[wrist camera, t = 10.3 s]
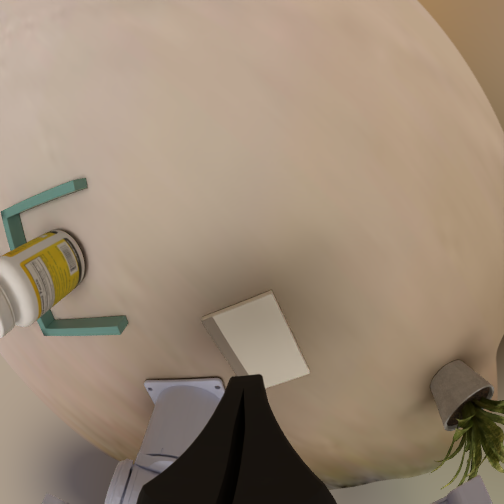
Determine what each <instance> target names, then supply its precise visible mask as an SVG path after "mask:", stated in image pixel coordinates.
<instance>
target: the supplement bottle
mask: <svg viewBox="0 0 504 504" xmlns="http://www.w3.org/2000/svg"><path fill="white" fill-rule="evenodd" d="M84 270H85V265H84V259H83V255H82V252H81V250H80V248H79V246H78V244H77V243H76V241H75V240H74V239H73V238H72V237H71V236H70V235H69V234H67V233H66V232H64V231H61V230H53V231H50V232H47V233H45V234H43V235H41V236H39V237H37V238H35V239H33V240H31V241H29V242H27V243H25V244H23V245H21V246H19V247H17V248H16V249H14V250H12V251H10V252H8V253H6V254H4V255H3V256H1V257H0V338H2V337H3V336H5V335H6V334H7V333H8V332H10V331H11V330H12V328H14V326H15V325H17V326H20V327H27V326H30V325H31V324H33V323H34V322H35V321H37V320H38V319H39V318H40V317H41V316H42V315H43V314H45V313H46V312H47V311H48V310H49V309H50V308H52V307H53V306H54V305H55V304H56V303H57V302H59V301H60V300H61V299H62V298H64V297H65V296H66V295H67V294H68V293H70V292H71V291H72V290H73V289H74V288H76V287H77V286H78V285H79V284H80V282H81V281H82V279H83V276H84Z"/></svg>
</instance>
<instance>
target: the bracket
mask: <svg viewBox="0 0 504 504" xmlns="http://www.w3.org/2000/svg"><path fill="white" fill-rule="evenodd" d="M85 188H87V183H86V178H82V179H77V180H72V181H70V182H67V183H65V184H62V185H59V186H57V187H54V188H52V189H50V190H47V191H45V192H42V193H40V194H38V195H35V196H33V197H31V198H29V199H26V200H24V201H22V202H20V203H18V204H16V205H13V206H11V207H9V208H7V209H5V210H3V211H1V215H2V220H3V224H4V228H5V232H6V236H7V240H8V243H9V247H10V250H11V251H12V250H14V249H16V248H17V247H19V246H21V245H23V244H25V243H26V240H25V236H24V232H23V228H22V224H21V220H20V216H19V213H22V212H24V211H26V210H29V209H31V208H34V207H36V206H39V205H41V204H44V203H46V202H49V201H51V200H54V199H57V198H59V197H62V196H65V195H68V194H70V193H73V192H76V191H79V190H82V189H85ZM37 322H38V324H39V326H40V328H41V330H42V332H43V334H44V336H90V335H120V334H121V333H122V332H123V330H124V329H125V327H126V326H127V324H128V321H127V319H126V316H113V317H99V318H83V319H64V320H54V317H53V315H52V313H51V310H50V309H49V310H48V311H47V312H46V313H45V314H43V315H42V316H41V317H40V318H39V319H38V320H37Z"/></svg>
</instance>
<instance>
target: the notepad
mask: <svg viewBox="0 0 504 504" xmlns="http://www.w3.org/2000/svg"><path fill="white" fill-rule="evenodd" d="M201 322H202V323H203V325H204V326H205V328H206V330H207V331H208V333H209V334H210V336H211V338H212V339H213V341H214V342H215V344H216V345H217V347H218V348H219V350H220V351H221V353H222V355H223V356H224V358H225V359H226V361H227V362H228V364H229V365H230V366H231V368H232V369H233V371H234V372H235V374H236V375H237V376H246V375H255V374H260V375H262V376H263V381H264V385H265V388H268V387H271V386H274V385H277V384H281V383H284V382H287V381H290V380H292V379H295V378H298V377H301V376H304V375H307V374H309V373H310V371H309V368H308V366H307V363H306V361H305V359H304V357H303V355H302V353H301V351H300V349H299V347H298V344H297V342H296V340H295V338H294V336H293V334H292V332H291V330H290V328H289V325H288V323H287V321H286V319H285V317H284V315H283V313H282V311H281V309H280V307H279V304H278V302H277V300H276V298H275V296H274V294H273V292H272V290H270V291H268V292H265V293H263V294H260V295H258V296H255V297H253V298H250V299H248V300H245V301H243V302H240V303H238V304H235V305H232V306H230V307H227V308H225V309H222V310H219V311H217V312H214V313H211V314H209V315H206V316H203V317H202V320H201Z"/></svg>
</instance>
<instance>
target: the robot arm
mask: <svg viewBox="0 0 504 504" xmlns="http://www.w3.org/2000/svg"><path fill="white" fill-rule="evenodd" d="M144 386H145V388H146V390H147V391H148V393H149V395H150V397H151V399H152V400H153V402H154V404H155V407H154V410H153V412H152V415H151V418H150V421H149V424H148V427H147V430H146V433H145V436H144V439H143V442H142V445H141V448H140V451H139V453H138V454H137V457H136V460H135V463H134V464H132V463H133V461H132V460H130V459H125V461H120V462H119V463H118V465H117V467H116V469H115V472H114V475H113V478H112V480H111V483H110V486H109V489H108V493H107V496H106V500H105V503H104V504H337V503H336V501H335V499H334V498H333V496H332V495H331V493H330V492H329V490H328V489H327V487H326V486H325V484H324V483H323V482H322V481H321V480H320V479H319V478H318V477H317V476H316V475H315V474H314V473H313V472H312V471H311V470H310V468H309V467H308V466H307V465H306V464H305V463H304V462H303V460H302V459H301V458H300V456H299V455H298V454H297V453H296V451H295V450H294V449H293V447H292V446H291V444H290V443H289V441H288V440H287V438H286V437H285V435H284V433H283V432H282V430H281V428H280V426H279V425H278V423H277V421H276V419H275V417H274V415H273V413H272V410H271V408H270V405H269V403H268V399H267V395H266V390H265V385H264V381H263V376H262V375H260V374H255V375H246V376H235V377H231V378H230V380H229V383H228V385H227V388H226V390H225V389H224V386H223V383H222V380H221V379H219V378H205V379H183V380H146V381H145V383H144ZM217 386H219V387H217ZM42 504H68V503H67V502H65V501H64V500H62V499H60V498H57V497H55V496H53V495H51V494H49V493H46V495H45V497H44V499H43V502H42ZM431 504H493V503H492V501H491V499H490V496H489V494H488V492H487V489H486V487H485V485H484V483H483V481H482V478H481V476H480V475H477V476H476V477H474V478H472V479H471V480H469V481H467V482H466V483H464V484H462V485H460V486H458V487H457V488H455V489H453V490H452V491H451V492H450V493H449V494H448V495H447V496H446V497H444V498H441V499H439V500H437V501H435V502H433V503H431Z"/></svg>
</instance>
